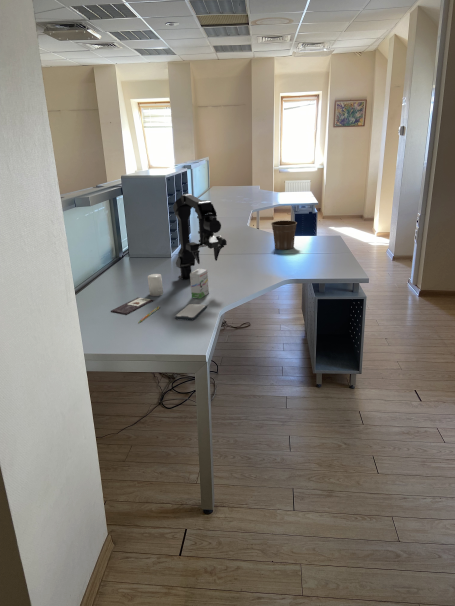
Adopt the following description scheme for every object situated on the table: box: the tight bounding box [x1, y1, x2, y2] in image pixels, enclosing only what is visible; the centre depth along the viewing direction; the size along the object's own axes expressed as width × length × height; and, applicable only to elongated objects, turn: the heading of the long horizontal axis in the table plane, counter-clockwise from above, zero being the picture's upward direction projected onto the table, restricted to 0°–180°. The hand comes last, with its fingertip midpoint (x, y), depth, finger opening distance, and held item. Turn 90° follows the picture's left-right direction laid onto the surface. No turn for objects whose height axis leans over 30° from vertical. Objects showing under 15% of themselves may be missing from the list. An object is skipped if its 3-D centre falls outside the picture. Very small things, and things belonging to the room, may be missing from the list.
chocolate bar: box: [110, 297, 154, 316], centre depth 199 cm, size 9×1×18 cm
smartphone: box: [174, 303, 208, 321], centre depth 188 cm, size 9×2×16 cm
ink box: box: [189, 268, 210, 300], centre depth 206 cm, size 8×5×12 cm, turn 154°
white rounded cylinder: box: [147, 273, 164, 297], centre depth 212 cm, size 6×6×9 cm
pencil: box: [137, 306, 161, 324], centre depth 188 cm, size 1×1×18 cm
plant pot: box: [270, 220, 298, 251], centre depth 284 cm, size 16×16×16 cm
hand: (207, 262), depth 209 cm, fingers open, 9 cm apart
